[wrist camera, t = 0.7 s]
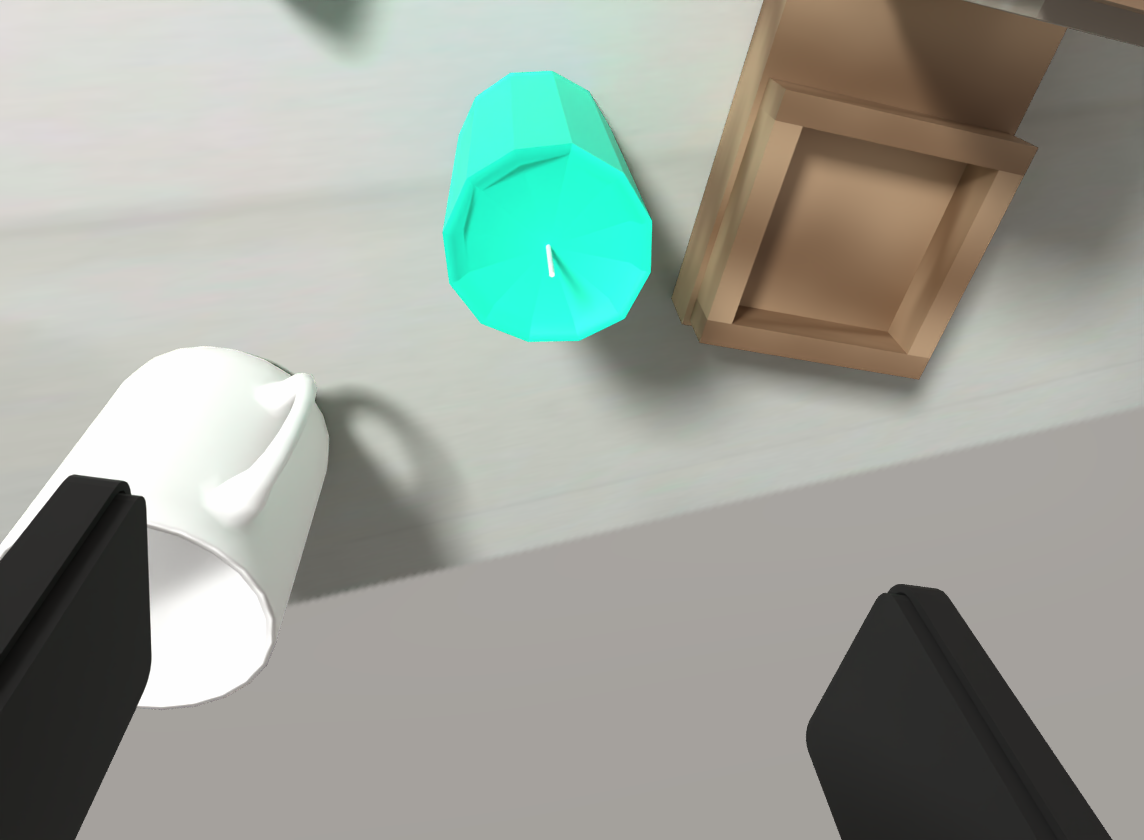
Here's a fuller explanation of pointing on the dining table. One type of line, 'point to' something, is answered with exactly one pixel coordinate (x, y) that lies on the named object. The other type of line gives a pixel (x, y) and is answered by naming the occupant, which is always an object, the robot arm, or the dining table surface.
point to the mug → (210, 507)
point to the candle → (544, 213)
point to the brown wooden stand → (869, 171)
